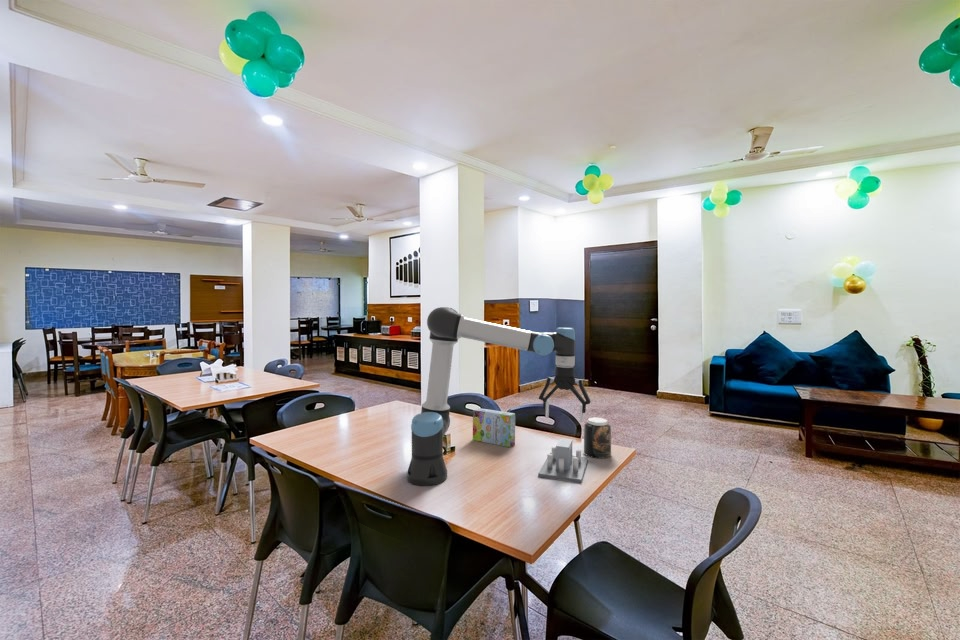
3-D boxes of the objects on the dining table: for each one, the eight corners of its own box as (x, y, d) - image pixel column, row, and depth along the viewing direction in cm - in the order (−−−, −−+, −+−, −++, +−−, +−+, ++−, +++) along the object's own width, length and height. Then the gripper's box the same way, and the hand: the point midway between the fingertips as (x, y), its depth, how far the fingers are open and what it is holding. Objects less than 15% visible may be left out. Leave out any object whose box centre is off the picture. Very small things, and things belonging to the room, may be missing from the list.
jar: (578, 453, 177) (579, 420, 177) (591, 447, 185) (591, 415, 185) (603, 460, 169) (604, 425, 169) (615, 453, 177) (616, 419, 177)
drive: (555, 468, 157) (555, 445, 157) (559, 459, 166) (559, 438, 166) (569, 470, 155) (569, 447, 155) (572, 461, 164) (572, 439, 164)
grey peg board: (538, 476, 152) (538, 460, 152) (550, 455, 175) (550, 441, 175) (581, 482, 147) (581, 466, 146) (588, 460, 169) (588, 445, 169)
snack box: (515, 444, 189) (515, 412, 189) (510, 448, 184) (510, 415, 184) (478, 437, 200) (478, 407, 200) (471, 440, 196) (471, 409, 195)
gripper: (532, 365, 161) (531, 417, 161) (596, 369, 152) (595, 425, 152) (536, 363, 168) (535, 413, 168) (598, 367, 159) (597, 420, 159)
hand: (563, 419), depth 160 cm, fingers open, 13 cm apart
